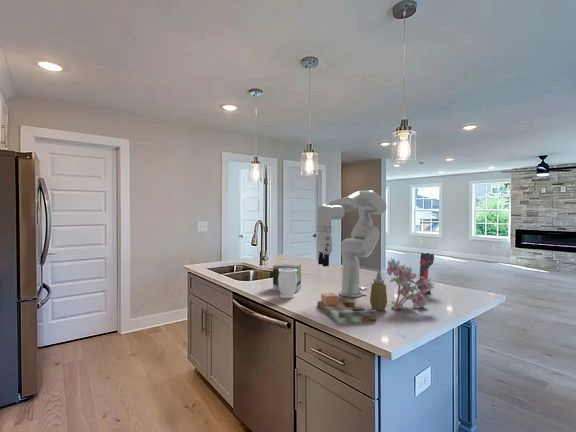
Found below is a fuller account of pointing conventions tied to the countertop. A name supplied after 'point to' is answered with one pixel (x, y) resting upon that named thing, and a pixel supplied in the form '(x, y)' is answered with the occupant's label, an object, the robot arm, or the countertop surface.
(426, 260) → the flashlight
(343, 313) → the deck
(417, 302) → the flower
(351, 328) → the countertop surface
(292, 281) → the jar
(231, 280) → the countertop surface
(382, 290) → the squeeze bottle
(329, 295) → the block
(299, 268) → the tea box
